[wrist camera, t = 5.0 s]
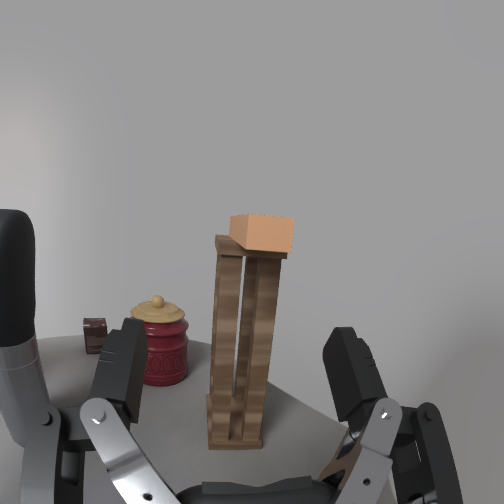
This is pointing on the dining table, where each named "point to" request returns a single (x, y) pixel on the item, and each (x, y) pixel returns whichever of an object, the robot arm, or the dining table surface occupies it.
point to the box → (94, 334)
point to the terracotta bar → (262, 232)
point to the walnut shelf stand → (241, 344)
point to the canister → (163, 341)
